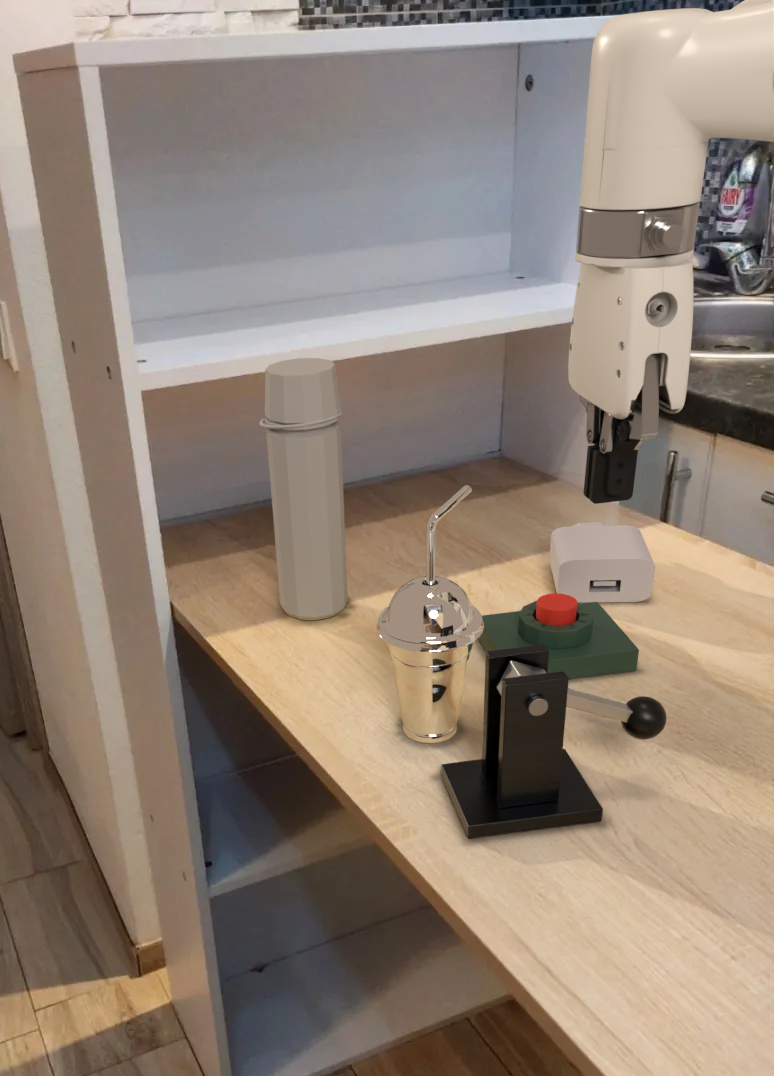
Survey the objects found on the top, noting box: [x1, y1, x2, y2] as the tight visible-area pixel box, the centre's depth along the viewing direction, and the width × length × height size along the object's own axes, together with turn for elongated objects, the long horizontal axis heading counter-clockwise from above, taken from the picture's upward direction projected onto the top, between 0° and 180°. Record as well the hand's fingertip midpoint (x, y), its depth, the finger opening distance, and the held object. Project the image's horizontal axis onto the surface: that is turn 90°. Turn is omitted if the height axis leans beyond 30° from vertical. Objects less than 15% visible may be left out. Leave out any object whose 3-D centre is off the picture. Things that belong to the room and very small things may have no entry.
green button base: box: [477, 600, 640, 680], centre depth 96 cm, size 12×10×4 cm
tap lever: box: [497, 660, 667, 741], centre depth 74 cm, size 13×3×3 cm, turn 96°
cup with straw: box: [376, 484, 484, 744], centre depth 82 cm, size 8×9×20 cm
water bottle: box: [258, 357, 349, 621], centre depth 103 cm, size 9×8×25 cm
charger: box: [549, 521, 656, 604], centre depth 110 cm, size 5×9×15 cm
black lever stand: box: [440, 644, 604, 840], centre depth 75 cm, size 10×8×12 cm
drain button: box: [536, 592, 577, 626], centre depth 94 cm, size 4×4×2 cm
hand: (607, 497), depth 78 cm, fingers closed
